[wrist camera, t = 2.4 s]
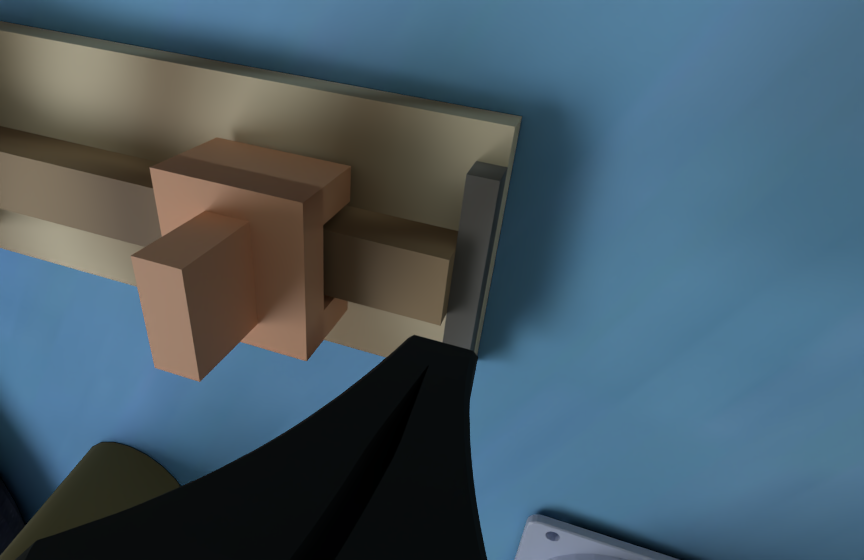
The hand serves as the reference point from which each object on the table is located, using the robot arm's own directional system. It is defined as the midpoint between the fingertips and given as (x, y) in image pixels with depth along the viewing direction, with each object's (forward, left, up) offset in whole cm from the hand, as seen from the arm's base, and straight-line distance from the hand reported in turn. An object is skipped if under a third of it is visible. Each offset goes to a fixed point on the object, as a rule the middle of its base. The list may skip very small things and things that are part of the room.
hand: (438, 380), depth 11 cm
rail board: (+10, 0, -6) cm, 11 cm away
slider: (+6, 0, -4) cm, 7 cm away
